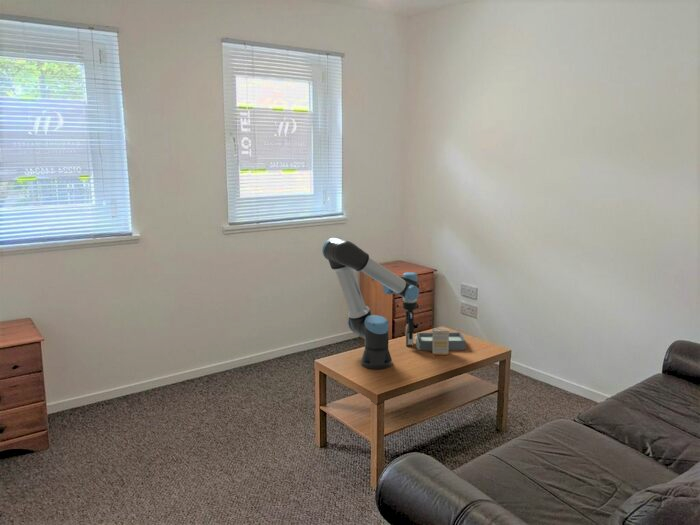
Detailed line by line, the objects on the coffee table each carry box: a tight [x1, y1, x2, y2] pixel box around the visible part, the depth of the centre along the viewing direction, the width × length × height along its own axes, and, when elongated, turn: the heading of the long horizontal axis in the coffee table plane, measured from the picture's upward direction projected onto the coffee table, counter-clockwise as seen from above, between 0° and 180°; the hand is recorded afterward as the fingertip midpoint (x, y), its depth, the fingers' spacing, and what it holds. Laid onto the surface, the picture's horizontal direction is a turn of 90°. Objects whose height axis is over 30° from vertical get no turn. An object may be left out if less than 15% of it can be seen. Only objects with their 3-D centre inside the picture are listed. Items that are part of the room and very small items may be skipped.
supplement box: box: [431, 327, 450, 356], centre depth 286 cm, size 8×5×13 cm, turn 84°
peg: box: [405, 323, 413, 348], centre depth 298 cm, size 3×3×12 cm
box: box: [414, 331, 467, 351], centre depth 298 cm, size 25×14×5 cm, turn 90°
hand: (409, 340), depth 298 cm, fingers open, 10 cm apart
